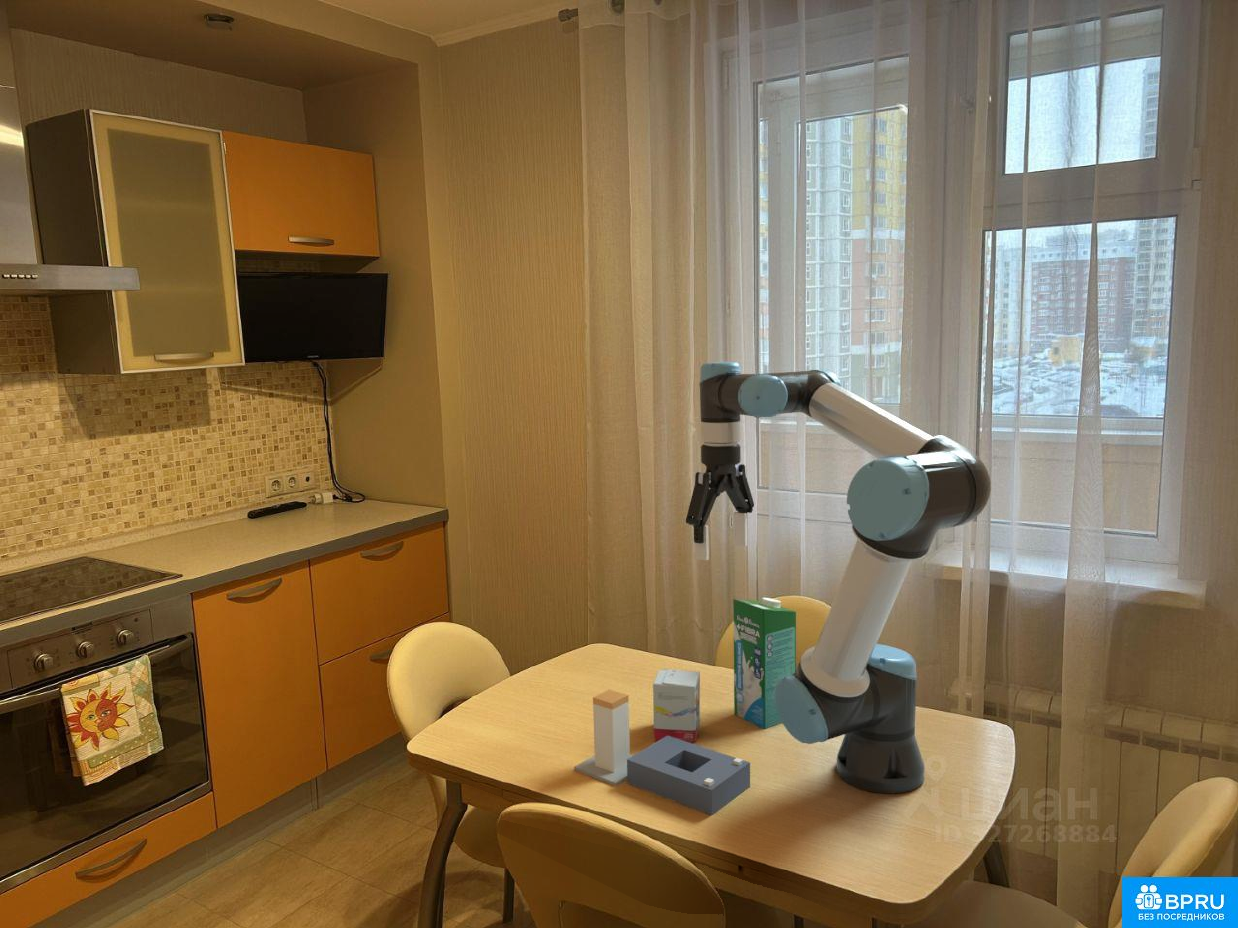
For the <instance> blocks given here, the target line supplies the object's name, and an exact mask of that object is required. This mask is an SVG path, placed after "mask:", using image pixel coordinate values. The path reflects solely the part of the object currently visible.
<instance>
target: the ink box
mask: <svg viewBox="0 0 1238 928" xmlns="http://www.w3.org/2000/svg"><path fill="white" fill-rule="evenodd" d="M700 674H701V672H700V671H696V670H695V671H694V670H680V669H668V668H667V669H665V668H664V669H663V668H659V670H658V671H657V675H656V676H655V677H654V678H655V679H654V681H653V683H652V689H653V690H652V692H653V695H652V696H653V698H652V699H653V701H652V702H653V704H652V705H653V710H652V711H653V740H654V741H656V742H657V741H659V740H661V739H662V738H664V737H666V736H670V737H673V738H677V739H680V740H683V741H686V742H689V743H692V744H696V742H697V737H698V733H699V730H700V727H701V724H700V723H701V722H700V721H701V720H700V719H701V715H700V714H701V711H700V710H701V707H700V706H701V705H700V702H701V701H700V699H701V695H700V694H701V693H700V691H701V689H700V688H701V686H700V685H701V679H700V677H701V675H700Z"/></svg>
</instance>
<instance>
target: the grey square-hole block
mask: <svg viewBox="0 0 1238 928" xmlns="http://www.w3.org/2000/svg"><path fill="white" fill-rule="evenodd" d="M626 782H627V784H629V785H631V786H633V787H636V788H639V789H641V790H645V791H647V792H649V793H652V794H654V795H657V796H660V797H663V798H665V799H668V800H670V801H672V802H676V803H678V804H681V805H682V806H683V805H684V806H687V807H689V808H691V809H694V810H697V811H699V812H701V813H705V814H707V815H709V816H713V815H714V814H716V813H717V812H718V811H720V810H722V809H723V808H724V807H725V806H726V805H728V804H729V803H730V802H732V801H733V800H735V798H737V797H738V796H739V795H740V796H741V794H742V793H744V792H745V791H746V790H748V789H749V788H750V787H751V762H749V761H747V760H744V759H741V758H739V757H734V756H731V755H728V754H725V753H722V752H719V751H716V750H714V749H710V748H707V747H703V746H701V745H697V744H696V743H691V742H686V741H683V740H680V739H677V738H673V737H670V736H666V737H664V738H662V739H661V740H659V741H656V742H655V741H654V743H652V744H650V745H649V746H647V747H645V748H644V749H642V750H640V751H639V752H637V753H636V754H634V755H633V756H632V757H630V758H629V759H627V780H626Z"/></svg>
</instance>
